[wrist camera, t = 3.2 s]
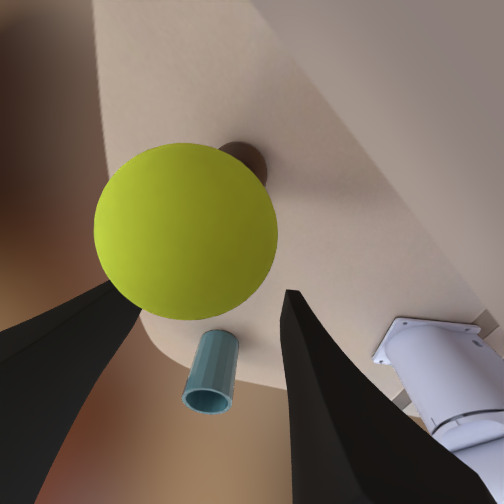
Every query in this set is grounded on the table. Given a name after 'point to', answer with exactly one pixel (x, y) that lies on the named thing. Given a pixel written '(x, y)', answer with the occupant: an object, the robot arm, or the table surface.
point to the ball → (185, 231)
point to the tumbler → (212, 374)
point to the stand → (248, 158)
